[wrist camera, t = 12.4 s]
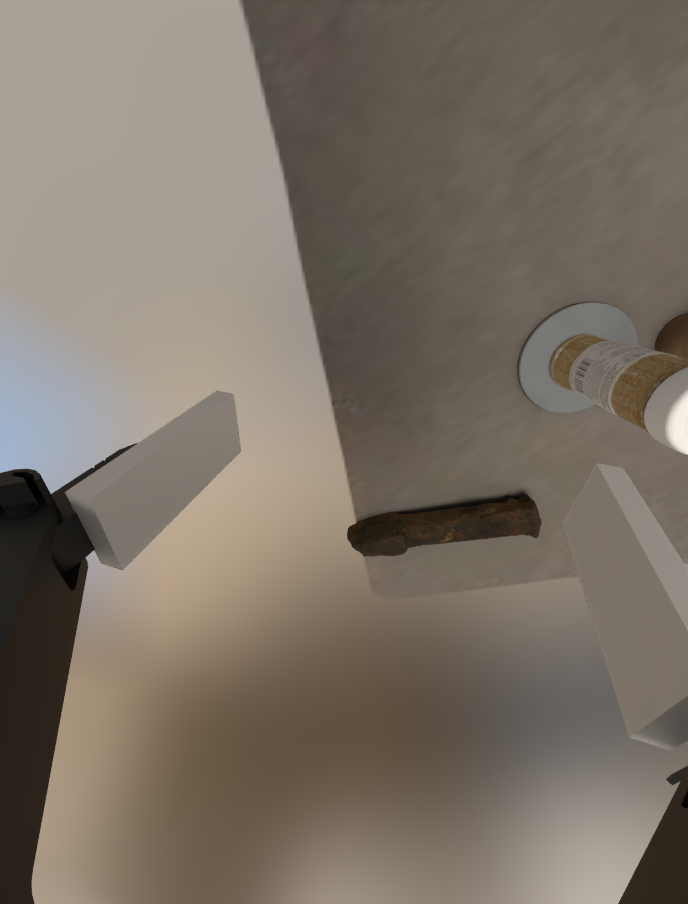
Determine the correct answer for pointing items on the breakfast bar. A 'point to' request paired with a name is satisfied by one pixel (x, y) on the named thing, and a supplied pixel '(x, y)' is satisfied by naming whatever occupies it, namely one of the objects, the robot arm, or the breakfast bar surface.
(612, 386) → the sprinkles bottle
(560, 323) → the coaster
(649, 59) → the breakfast bar surface
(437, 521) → the dark brown elongated piece
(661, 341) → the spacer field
